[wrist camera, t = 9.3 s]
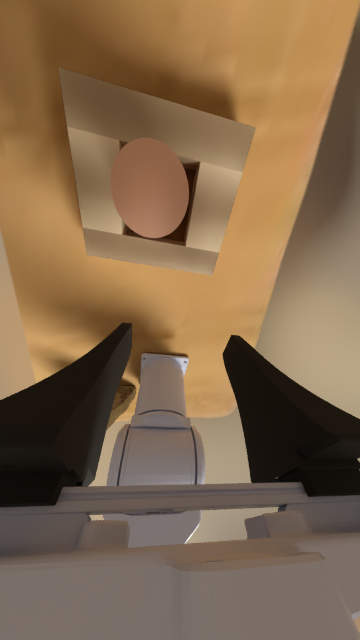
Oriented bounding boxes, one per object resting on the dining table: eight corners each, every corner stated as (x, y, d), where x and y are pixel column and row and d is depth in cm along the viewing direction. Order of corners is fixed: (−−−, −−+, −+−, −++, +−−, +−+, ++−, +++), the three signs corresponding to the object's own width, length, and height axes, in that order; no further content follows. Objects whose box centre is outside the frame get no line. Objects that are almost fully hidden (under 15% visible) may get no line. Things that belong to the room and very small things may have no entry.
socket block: (206, 267, 18) (212, 275, 16) (99, 249, 17) (86, 255, 14) (239, 144, 13) (255, 127, 10) (83, 100, 11) (58, 67, 9)
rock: (145, 390, 28) (83, 382, 24) (131, 447, 25) (59, 449, 21) (131, 382, 37) (85, 375, 33) (120, 423, 34) (68, 421, 30)
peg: (177, 231, 16) (181, 243, 9) (138, 224, 15) (113, 230, 9) (185, 181, 14) (196, 150, 7) (139, 170, 13) (107, 126, 7)
